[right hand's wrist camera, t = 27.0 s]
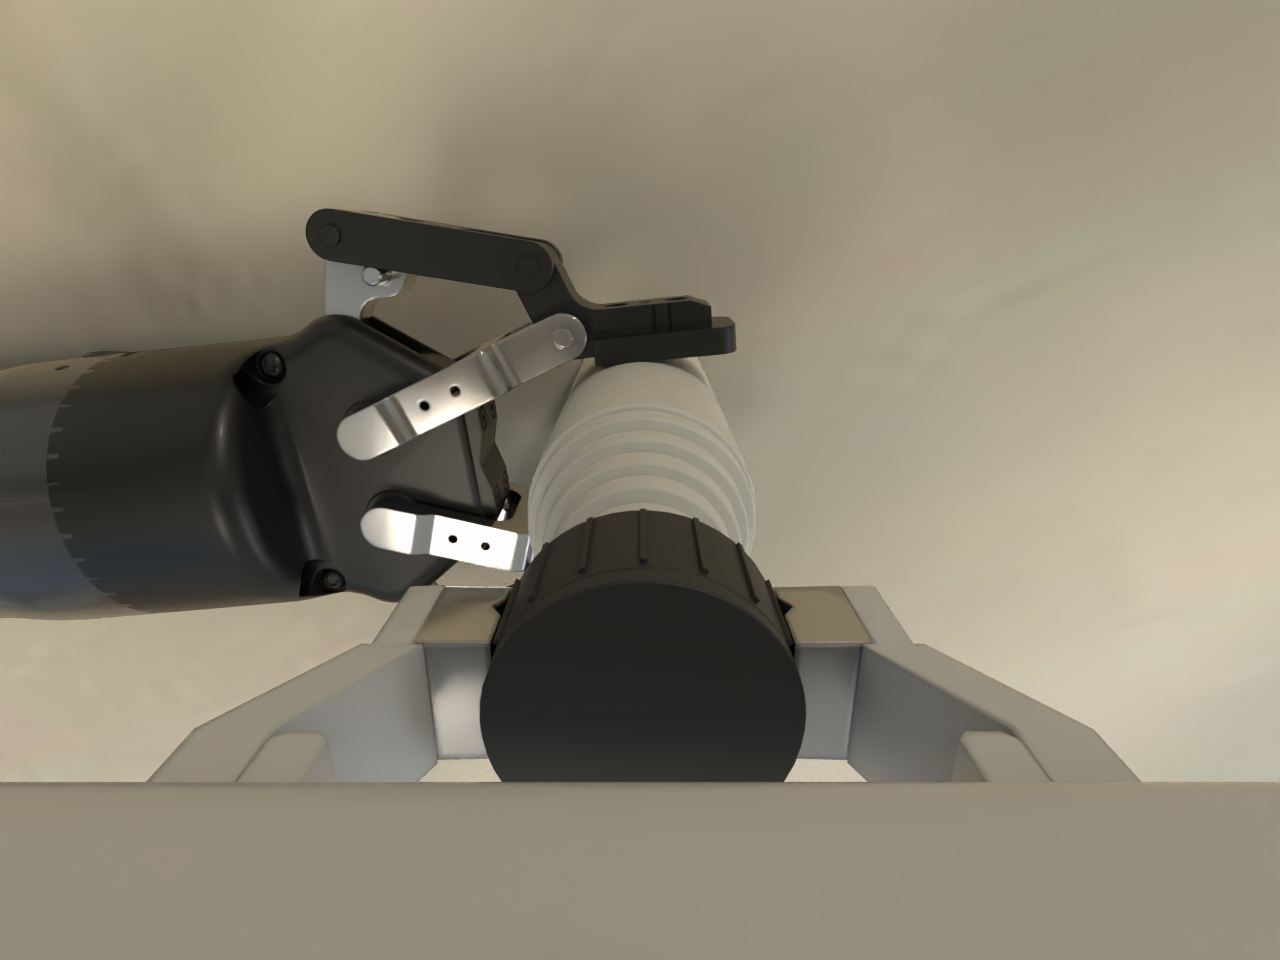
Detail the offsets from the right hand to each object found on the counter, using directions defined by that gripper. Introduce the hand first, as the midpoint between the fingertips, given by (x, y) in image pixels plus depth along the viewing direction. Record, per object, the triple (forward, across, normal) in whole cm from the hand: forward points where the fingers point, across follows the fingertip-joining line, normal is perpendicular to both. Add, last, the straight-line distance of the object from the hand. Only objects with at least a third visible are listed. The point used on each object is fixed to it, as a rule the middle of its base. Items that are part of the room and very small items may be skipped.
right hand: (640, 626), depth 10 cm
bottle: (+16, 0, 0) cm, 16 cm away
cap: (-2, 0, 0) cm, 2 cm away
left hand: (+10, -3, 0) cm, 10 cm away
